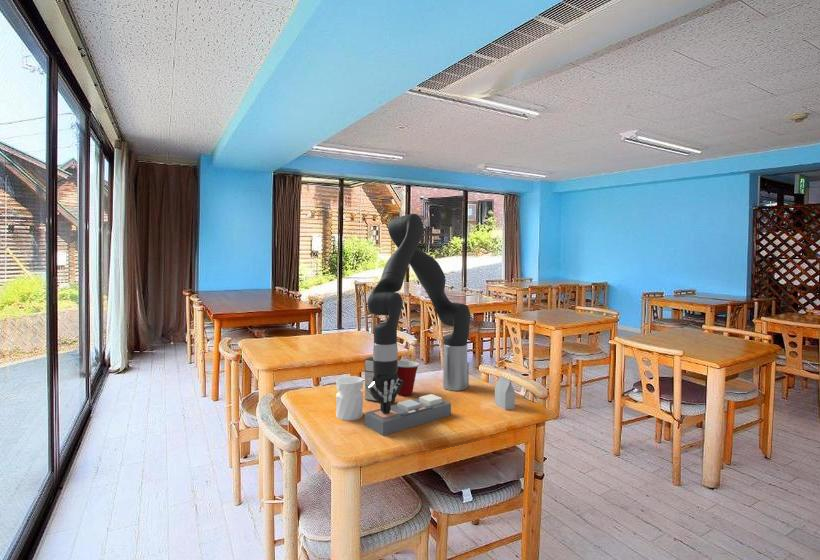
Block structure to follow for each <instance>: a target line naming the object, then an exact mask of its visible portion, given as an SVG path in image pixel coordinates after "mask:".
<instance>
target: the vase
mask: <svg viewBox="0 0 820 560" xmlns="http://www.w3.org/2000/svg"><path fill="white" fill-rule="evenodd" d="M363 388H364V379H363V378H362V377H360V376H356V375H354V376H353V375H347V376H339V377H338V378H336V381H335V389H336V390H337V391H338V392H337V393H336V394H335V396H336V398H335V399H336V402H335V403H336V404H335V415H336V419H338V420H340V419H341V420H340V421H347V422H348V421H349V422H350V421H354V420H359V419H361V418H362V417H363V414H364V411H363V408H364V394H363V393H364V392H362V391H361V390H362V389H363Z"/></svg>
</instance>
